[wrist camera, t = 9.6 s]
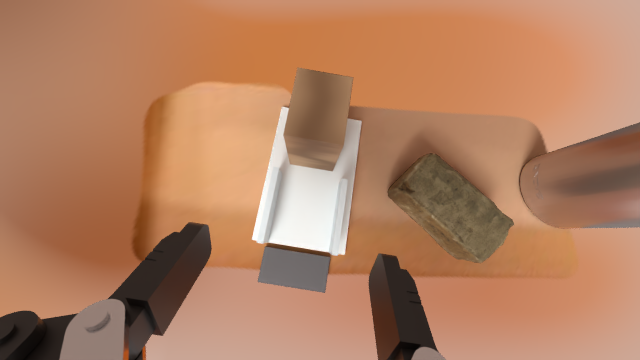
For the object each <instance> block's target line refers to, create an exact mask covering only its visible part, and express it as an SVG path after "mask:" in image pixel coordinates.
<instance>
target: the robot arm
mask: <svg viewBox="0 0 640 360" xmlns="http://www.w3.org/2000/svg"><path fill="white" fill-rule="evenodd" d="M520 187H521V193H522V195H523V198H524V201H525V202H526V204H527V206H528V207H529V209H530V210H531V211H532V212H533V213H534V214H535V215H536V216H537V217H538V218H539V219H540V220H542V221H543V222H545V223H547V224H549V225H551V226H554V227H557V228H564V229H568V228H626V227H627V228H629V227H640V123H637V124H634V125H631V126H628V127H625V128H622V129H619V130H616V131H613V132H610V133H607V134H604V135H601V136H598V137H595V138H592V139H589V140H586V141H583V142H580V143H577V144H574V145H570V146H567V147H564V148H561V149H558V150H556V151H552V152H549V153H546V154H543V155H540V156H537V157H535V158H533V159H531V160H530V161H529V162H528V163H527V164H526V165H525V166H524V168H523V170H522V173H521V176H520ZM210 254H211V240H210V233H209V227H208V225H205V224H199V223H193V222H189V223H188V224H187V225H186V226H185V227H184V228H183V229H182V230H181V232H180V233H179V232H173V233H172V234H170V235H169V236H167V237H165V238H164V239H162V240H161V241H160V242H159V244H158V245H157V246H156V247H155V248H154V249H153V251H152V252H150V253H149V255H148V256H147V257H146V258H145V260H143V261H142V262H141V263H140V265H139V266H138V267H137V268H136V269H135V270H134V271H133V272H132V273H131V275H130V276H129V277H128V278H127V279H126V280H125V281H124V282H123V283H122V285H121V286H120V287H119V288H118V289H117V290H116V291H115V292H114V293H113V294H112V295H111V296H110V297H109V298H108V299H106V300H102V301H99V302H96V303H94V304H92V305H90V306H88V307H87V308H85V309H84V310H82V311H81V312H80V313H78V314H72V315H66V316H60V317H54V318H47V319H40V318H39V317H38V316H37V315H36V314H35V313H34V312H31V311H18V312H14V313H11V314H8V315H5V316H3V317H0V360H146V346H145V344H146V343H147V341H148V340H149V338H150V336H151V335H152V334H154V335H161V336H163V334H164V333H165V331H166V329H167V328H168V326H169V324H170V323H171V321H172V319H173V318H174V316H175V314H176V313H177V311H178V309H179V308H180V306H181V304H182V303H183V301H184V299H185V298H186V296H187V295H188V293H189V291H190V290H191V288H192V286H193V285H194V283H195V281H196V280H197V278H198V276H199V274H200V273H201V271H202V269H203V268H204V266H205V265H206V263H207V261H208V259H209V257H210ZM369 292H370V300H371V307H372V315H373V322H374V331H375V339H376V346H377V354H378V360H446V359H445V358H444V357H443V356H442V355H441V354H440V353H439V352H438V350H437V348H436V346H435V343H434V340H433V337H432V334H431V331H430V328H429V325H428V322H427V318H426V315H425V312H424V309H423V306H422V305H421V300H420V297H419V295H418V291H417V288H416V284H415V282H414V280H413V278H412V277H411V275H410V274H409V273H408V271H407V270H404V269H400V266H399V262H398V259H397V257H396V256H392V255H386V254H378V256H377V259H376V261H375V263H374V266H373V268H372V270H371V273H370V276H369Z"/></svg>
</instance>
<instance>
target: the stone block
mask: <svg viewBox="0 0 640 360" xmlns="http://www.w3.org/2000/svg"><path fill="white" fill-rule="evenodd" d="M388 196H389V197H390V198H391V199H392V200H393V201H394V202H395V203H396V204H397V205H398V206H399V207H400V208H401V209H403V210H404V211H405V212H406V213H407V214H408V215H409V216H410V217H411V218H412V219H414V220H415V221H416V222H417V223H418V224H419V225H421V226H422V227H423V229H424V230H425V231H426V232H428V233H429V234H430V235H431V236H432V237H433V238H434V239H435V241H436V242H437V243H438V244H439V245H440V246H441V247H442V248H443V249H444V250H446V251H447V252H448V253H449V254H451V255H452V256H453V257H455V258H456V259H463V260H467V261H472V262H475V263H482V262H483V261H485V260H486V259H487V258H489V257H490V256H491V255H492V254H493V253H494V252H495V250H496V249H497V248H499V247H500V246H501V245H503V243H504V241H505V239H506V237H507V235H508V230H509V228H510V227H511V226H513V225H514V223H513V220H512V219H511V218H509V217H508V216H506V215H505V214H503V213H502V212H501V211H500V210H499V209H498V208H497V206H496V205H495V204H494V202H492V201H491V200H490V199H489V198H487V197H486V196H485V195H483V194H482V193H481V192H480V191H479V190H478V189H477V188H476V187H475V186H473V185H472V184H471V183H470V182H469V181H468V180H467V179H465V178H464V177H463V176H462V175H461V174H459V173H458V172H457V171H456V170H455V169H453V168H452V167H451V166H449V165H448V164H447V163H446V162H444V161H443V160H442V159H441V158H440V157H439V156H438V155H436V154H432V153H430V154H426V155H424V156H423V157H421V158H419V159H418V160H417V161H416V162H415V163H414V164H413V165H412V166H411V167H410V168H409V169H408V170H407V171H406V172H405V173H404V174H403V175H402V176H401V177H400V178H399V179H398V180H397V181H396V182H395V183H394V184H393V185H392V186H391V187H390V189H389V190H388Z"/></svg>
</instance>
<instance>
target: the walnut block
mask: <svg viewBox="0 0 640 360" xmlns="http://www.w3.org/2000/svg"><path fill="white" fill-rule="evenodd" d="M352 84H353V77H348V76H342V75H337V74H330V73H325V72H320V71H314V70H309V69H302V68H297V73H296V77H295V82H294V87H293V91H292V96H291V101H290V105H289V110H288V115H287V120H286V124H285V129H284V134H283V136H284V140H285V145H286V149H287V153H288V158H289V162H290V164H291V165H297V166H303V167H309V168H315V169H321V170H327V171H333V169H334V167H335V165H336V162H337V160H338V158H339V155H340V153H341V151H342V148H343V146H344V141H345V134H346V126H347V119H348V112H349V105H350V98H351V90H352Z"/></svg>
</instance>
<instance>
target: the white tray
mask: <svg viewBox="0 0 640 360" xmlns="http://www.w3.org/2000/svg"><path fill="white" fill-rule="evenodd" d="M288 110H289V108H286V107H282V109H281V113H280V117H279V122H278V126H277V131H276V135H275V140H274V144H273V148H272V153H271V157H270V162H269V166H268V171H267V175H266V179H265V184H264V188H263V193H262V197H261V202H260V206H259V210H258V215H257V219H256V224H255V228H254V233H253V237H252V240H257V243H268V242H269V243H275V244H281V245H287V246H293V247H300V248H306V249H312V250H318V251H324V252H329V253H330V254H331V255H336V256H338V254H342V255H345V248H346V241H347V233H348V225H349V217H350V209H351V201H352V193H353V186H354V178H355V170H356V162H357V154H358V146H359V138H360V131H361V123H362V121H360V120H354V119H347V126H346V134H345V141H344V146H343V148H342V151H341V153H340V155H339V158H338V160H337V162H336V165H335V167H334V169H333V171H327V170H321V169H315V168H309V167H303V166H297V165H291V164H290V162H289V158H288V153H287V149H286V145H285V140H284V136H283V134H284V129H285V124H286V120H287V115H288ZM329 261H330V257H327V256H321V255H315V254H309V253H302V252H296V251H290V250H284V249H278V248H272V247H265V249H264V254H263V259H262V264H261V268H260V273H259V278H258V282H261V283H267V284H274V285H280V286H286V287H292V288H298V289H305V290H311V291H317V292H323V293H325V290H326V282H327V275H328V268H329Z"/></svg>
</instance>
